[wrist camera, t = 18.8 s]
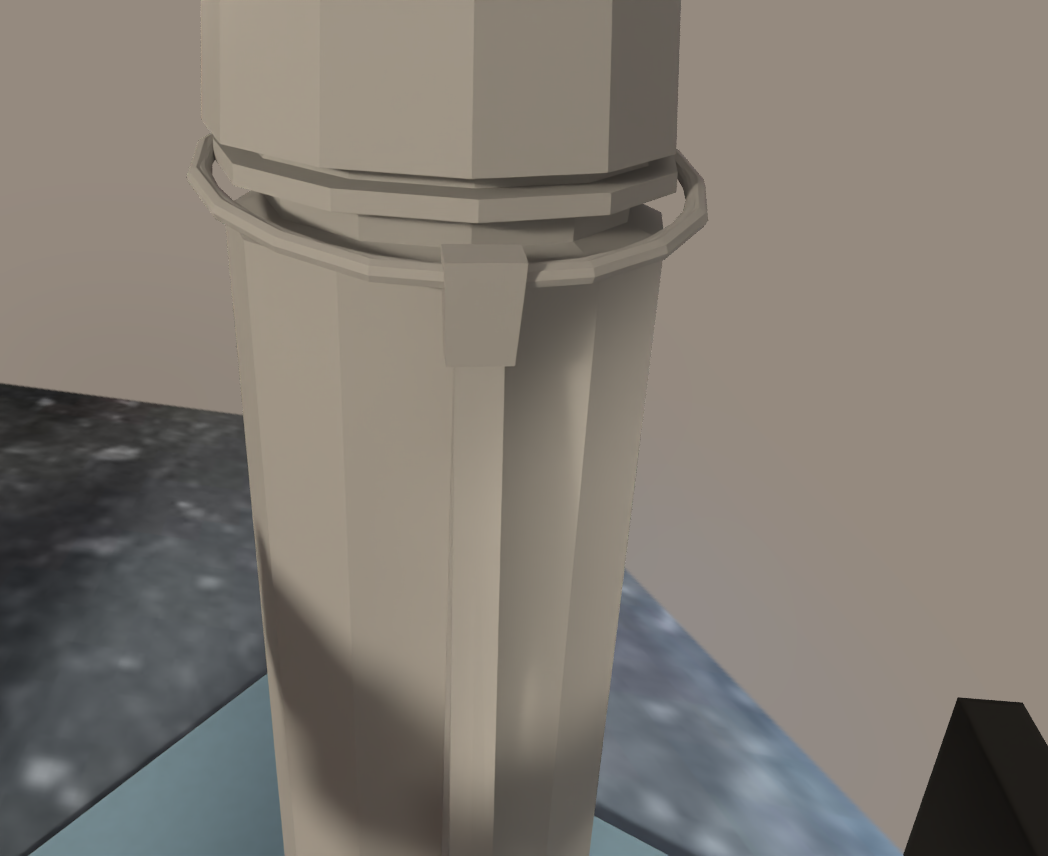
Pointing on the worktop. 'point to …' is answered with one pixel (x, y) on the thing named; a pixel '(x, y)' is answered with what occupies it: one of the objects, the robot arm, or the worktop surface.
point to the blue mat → (220, 798)
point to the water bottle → (442, 392)
